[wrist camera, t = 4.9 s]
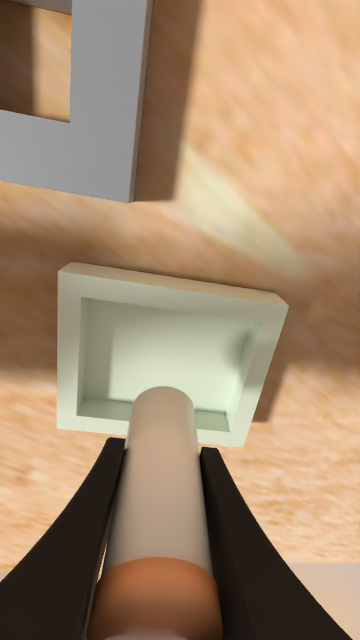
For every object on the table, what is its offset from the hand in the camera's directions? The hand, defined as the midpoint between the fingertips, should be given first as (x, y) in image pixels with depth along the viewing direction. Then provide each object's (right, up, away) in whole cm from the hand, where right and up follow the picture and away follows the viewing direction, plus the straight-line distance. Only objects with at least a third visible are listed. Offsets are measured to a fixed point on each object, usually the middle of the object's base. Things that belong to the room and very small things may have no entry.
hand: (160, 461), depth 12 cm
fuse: (0, +1, +2) cm, 3 cm away
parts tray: (0, +3, +8) cm, 9 cm away
